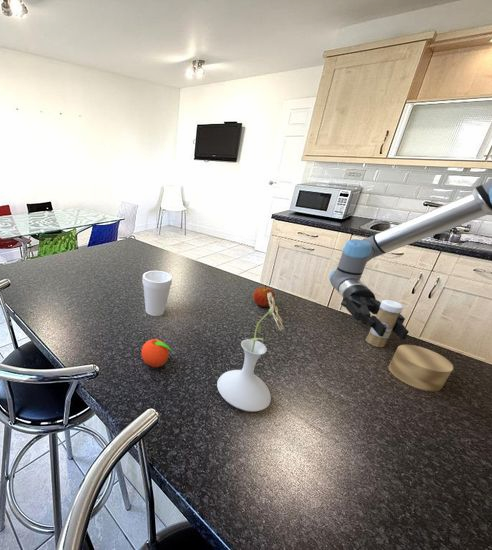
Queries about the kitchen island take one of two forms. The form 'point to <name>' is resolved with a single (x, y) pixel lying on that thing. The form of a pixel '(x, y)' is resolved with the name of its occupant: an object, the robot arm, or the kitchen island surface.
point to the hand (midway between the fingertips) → (393, 333)
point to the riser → (420, 367)
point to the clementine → (155, 353)
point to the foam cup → (156, 291)
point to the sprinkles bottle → (385, 322)
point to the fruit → (262, 296)
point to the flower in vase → (249, 372)
